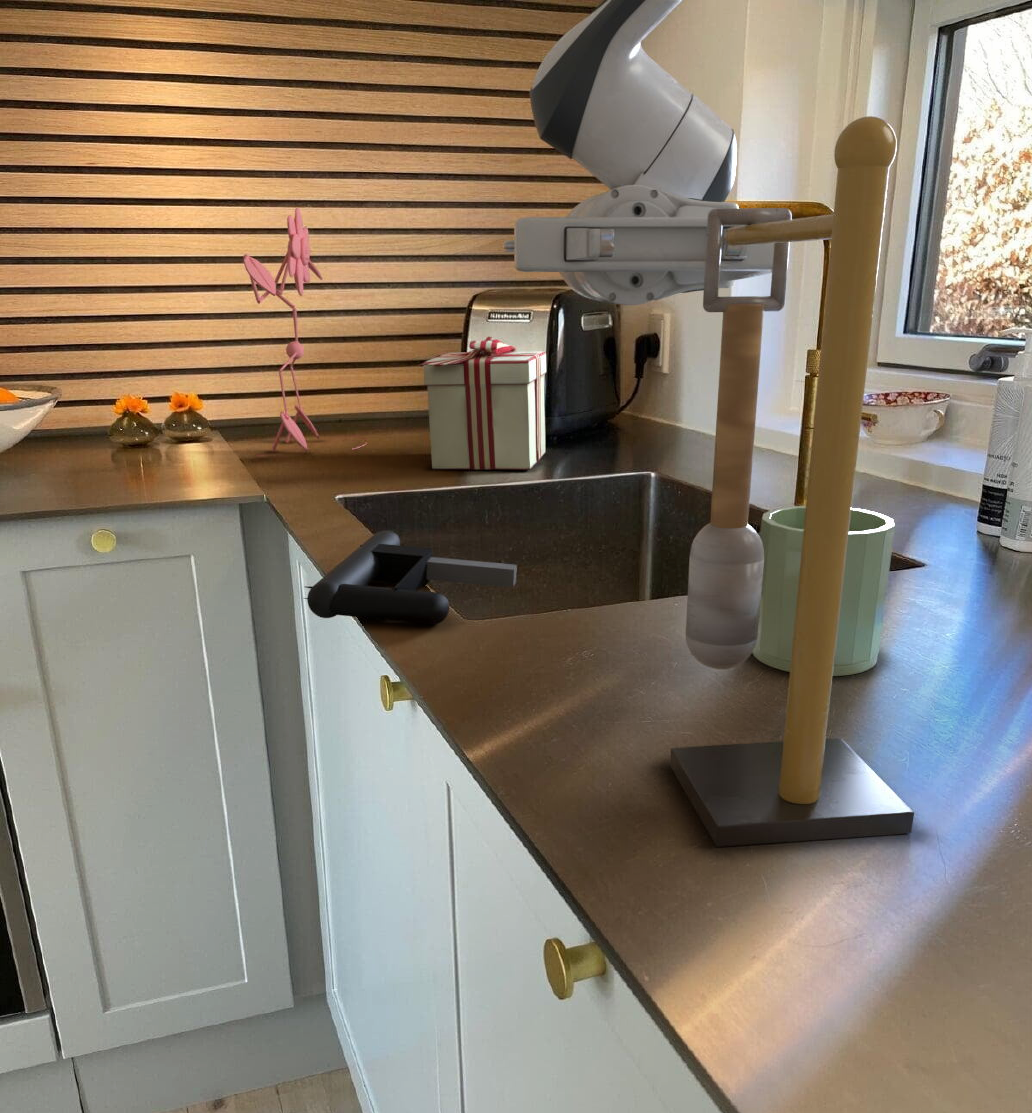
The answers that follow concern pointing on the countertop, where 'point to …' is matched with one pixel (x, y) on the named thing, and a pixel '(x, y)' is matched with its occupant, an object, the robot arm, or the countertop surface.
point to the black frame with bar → (398, 582)
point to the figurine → (300, 270)
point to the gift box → (486, 407)
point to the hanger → (816, 552)
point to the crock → (859, 588)
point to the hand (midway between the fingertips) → (671, 242)
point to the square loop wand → (732, 464)
